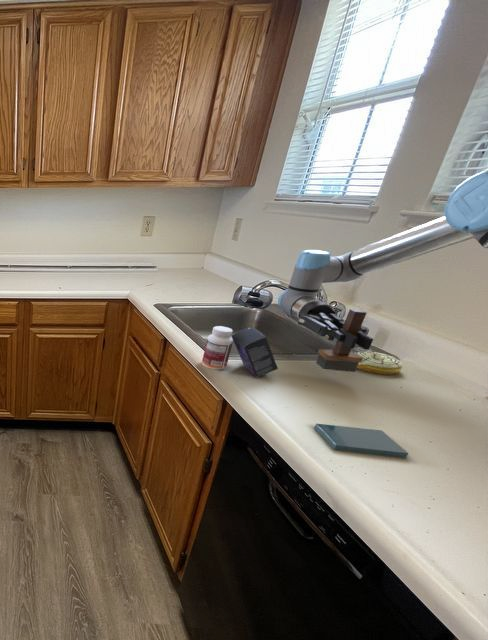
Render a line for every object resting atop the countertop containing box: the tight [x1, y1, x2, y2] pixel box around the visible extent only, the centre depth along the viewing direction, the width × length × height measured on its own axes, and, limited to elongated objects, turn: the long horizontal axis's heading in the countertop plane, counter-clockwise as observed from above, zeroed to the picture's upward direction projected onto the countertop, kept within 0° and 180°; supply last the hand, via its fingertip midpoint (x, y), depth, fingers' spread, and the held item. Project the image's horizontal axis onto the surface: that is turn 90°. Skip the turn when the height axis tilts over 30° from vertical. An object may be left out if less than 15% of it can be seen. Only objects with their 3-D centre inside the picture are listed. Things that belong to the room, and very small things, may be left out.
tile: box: [313, 423, 409, 459], centre depth 83 cm, size 12×8×2 cm, turn 78°
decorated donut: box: [355, 351, 403, 376], centre depth 115 cm, size 10×11×4 cm
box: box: [231, 325, 279, 378], centre depth 110 cm, size 8×6×11 cm
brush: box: [315, 308, 367, 373], centre depth 103 cm, size 8×5×15 cm, turn 78°
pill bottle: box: [201, 325, 234, 370], centre depth 114 cm, size 6×6×11 cm
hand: (361, 343), depth 97 cm, fingers closed on brush, 2 cm apart
